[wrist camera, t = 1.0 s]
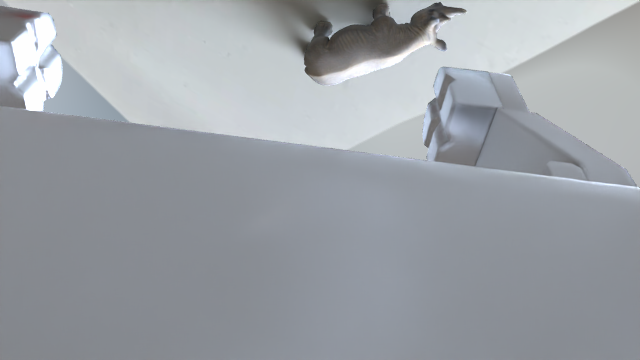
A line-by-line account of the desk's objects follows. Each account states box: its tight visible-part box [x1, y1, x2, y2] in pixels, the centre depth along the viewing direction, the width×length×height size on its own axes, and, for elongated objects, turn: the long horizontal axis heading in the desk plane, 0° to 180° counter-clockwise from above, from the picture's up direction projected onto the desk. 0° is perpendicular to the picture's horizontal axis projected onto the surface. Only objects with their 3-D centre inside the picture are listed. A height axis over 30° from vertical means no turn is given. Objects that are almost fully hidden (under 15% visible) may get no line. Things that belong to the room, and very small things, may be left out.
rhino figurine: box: [304, 2, 467, 86], centre depth 45 cm, size 4×14×6 cm, turn 110°
